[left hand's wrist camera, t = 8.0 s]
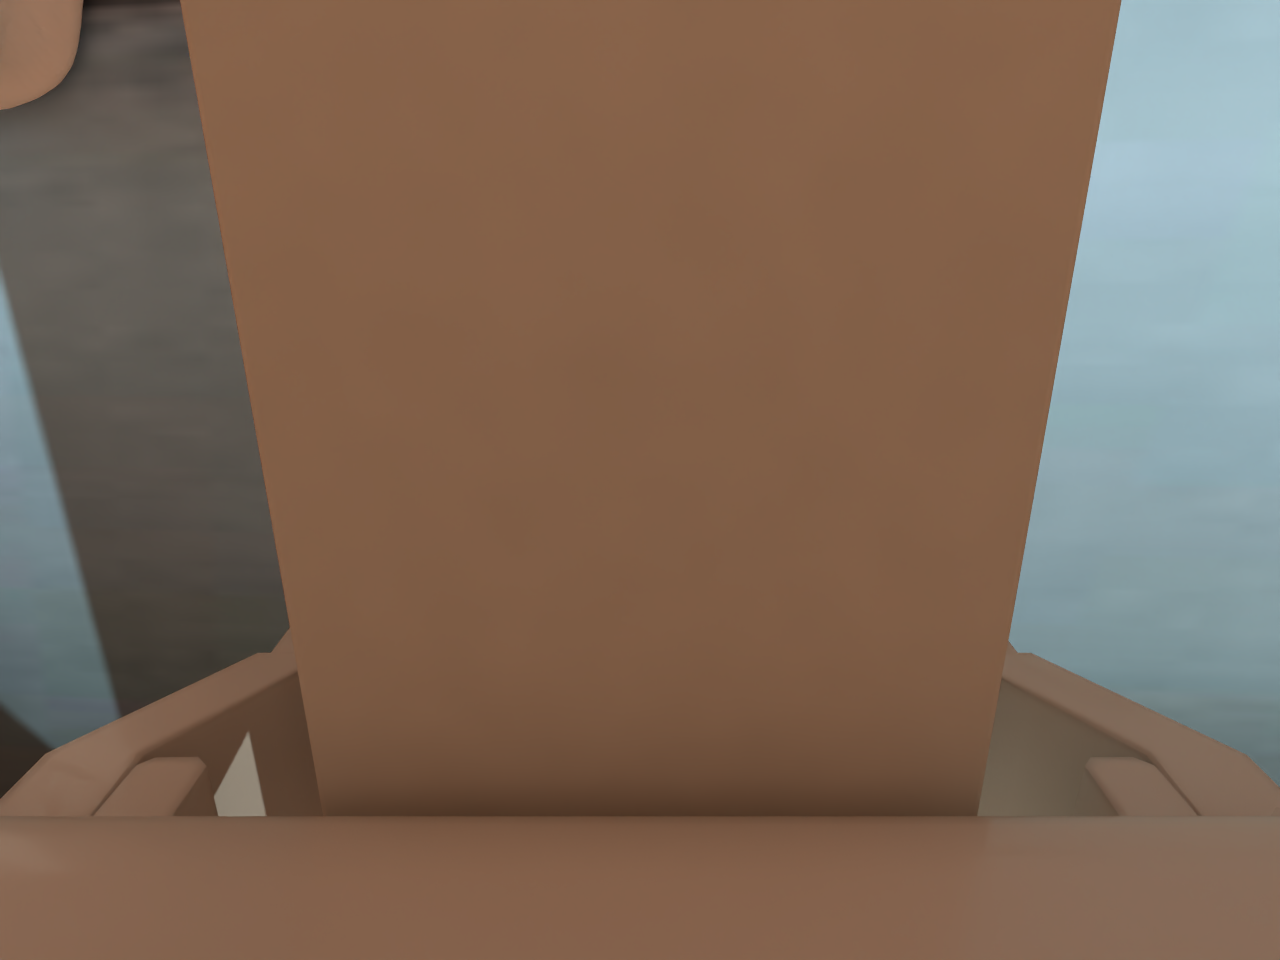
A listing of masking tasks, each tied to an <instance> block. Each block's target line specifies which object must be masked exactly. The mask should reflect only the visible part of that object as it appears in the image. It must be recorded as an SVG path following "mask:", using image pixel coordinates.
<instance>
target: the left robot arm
mask: <svg viewBox="0 0 1280 960" xmlns="http://www.w3.org/2000/svg"><path fill="white" fill-rule="evenodd" d="M0 960H1280V787H1279V786H1278V785H1277V784H1276V783H1275V782H1274V781H1273V780H1272V779H1271V778H1270V777H1269V776H1268V775H1266V774H1265V773H1264V772H1263V771H1262V770H1261V769H1260V768H1259V767H1258V766H1257V765H1256V764H1255V763H1254V762H1253V761H1252V760H1251V759H1250V758H1249V757H1248V756H1247V755H1246V754H1244V753H1242V752H1240V751H1237V750H1235V749H1233V748H1231V747H1229V746H1227V745H1225V744H1223V743H1220V742H1218V741H1216V740H1214V739H1212V738H1210V737H1208V736H1206V735H1204V734H1201V733H1199V732H1197V731H1195V730H1193V729H1191V728H1189V727H1187V726H1185V725H1182V724H1180V723H1178V722H1176V721H1174V720H1172V719H1170V718H1168V717H1165V716H1163V715H1161V714H1159V713H1157V712H1155V711H1153V710H1151V709H1149V708H1146V707H1144V706H1142V705H1140V704H1138V703H1136V702H1134V701H1132V700H1129V699H1127V698H1125V697H1123V696H1121V695H1119V694H1117V693H1115V692H1113V691H1110V690H1108V689H1106V688H1104V687H1102V686H1100V685H1098V684H1096V683H1094V682H1091V681H1089V680H1087V679H1085V678H1083V677H1081V676H1079V675H1077V674H1074V673H1072V672H1070V671H1068V670H1066V669H1064V668H1062V667H1060V666H1058V665H1055V664H1053V663H1051V662H1049V661H1047V660H1045V659H1043V658H1041V657H1038V656H1036V655H1034V654H1032V653H1017V651H1016V650H1015V649H1014V647H1013V646H1012V645H1011V644H1010V642H1009V641H1008V645H1007V650H1006V656H1005V662H1004V667H1003V673H1002V679H1001V684H1000V690H999V695H998V701H997V707H996V712H995V718H994V724H993V729H992V735H991V741H990V746H989V752H988V758H987V763H986V769H985V775H984V780H983V786H982V792H981V797H980V803H979V809H978V814H977V816H323V813H322V807H321V801H320V796H319V790H318V784H317V778H316V773H315V767H314V761H313V756H312V750H311V744H310V739H309V733H308V727H307V721H306V716H305V710H304V704H303V699H302V693H301V687H300V682H299V676H298V670H297V664H296V659H295V653H294V647H293V642H292V636H291V630H290V628H289V629H288V630H287V632H286V633H285V634H284V636H283V637H282V638H281V640H280V641H279V642H278V644H277V645H276V646H275V648H274V649H273V650H272V652H271V653H256V654H254V655H252V656H250V657H248V658H246V659H244V660H242V661H239V662H237V663H235V664H233V665H231V666H229V667H227V668H225V669H223V670H221V671H218V672H216V673H214V674H212V675H210V676H208V677H206V678H204V679H202V680H200V681H197V682H195V683H193V684H191V685H189V686H187V687H185V688H183V689H181V690H178V691H176V692H174V693H172V694H170V695H168V696H166V697H164V698H162V699H160V700H157V701H155V702H153V703H151V704H149V705H147V706H145V707H143V708H141V709H139V710H136V711H134V712H132V713H130V714H128V715H126V716H124V717H122V718H120V719H117V720H115V721H113V722H111V723H109V724H107V725H105V726H103V727H101V728H99V729H96V730H94V731H92V732H90V733H88V734H86V735H84V736H82V737H80V738H78V739H75V740H73V741H71V742H69V743H67V744H65V745H63V746H61V747H59V748H56V749H54V750H52V751H50V752H48V753H46V754H45V755H44V756H43V757H42V758H41V759H40V760H39V761H38V762H37V763H36V764H35V765H34V766H33V767H32V768H31V769H30V770H29V771H28V772H27V773H26V774H25V775H24V776H23V777H22V778H21V779H20V780H19V781H18V782H17V783H16V784H15V785H14V786H13V787H12V788H11V789H10V790H9V791H8V792H7V793H6V794H5V795H4V796H3V797H2V798H1V799H0Z"/></svg>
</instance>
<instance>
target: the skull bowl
mask: <svg viewBox="0 0 1280 960" xmlns="http://www.w3.org/2000/svg"><path fill="white" fill-rule="evenodd" d="M82 8H83V0H0V110H3V109H10V108H13V107H16V106H19V105H22V104H24V103H27V102H30V101H32V100H35V99H37V98H39V97H41V96H42V95H44V94H46V93H47V92H49V91H50V90H52V89H53V88H55V87H56V86H57V85H58V84H59V83H60V82H61V81H62V80H63V79H64V78H65V76H66V75H67V73H68V72H69V70H70V69H71V67H72V65H73V63H74V59H75V56H76V53H77V48H78V43H79V36H80V29H81V19H82Z"/></svg>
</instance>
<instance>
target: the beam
mask: <svg viewBox="0 0 1280 960" xmlns="http://www.w3.org/2000/svg"><path fill="white" fill-rule="evenodd" d="M180 3H181V8H182V14H183V20H184V25H185V31H186V37H187V43H188V48H189V54H190V60H191V65H192V71H193V77H194V83H195V88H196V94H197V100H198V105H199V111H200V117H201V122H202V128H203V134H204V140H205V145H206V151H207V157H208V162H209V168H210V174H211V179H212V185H213V191H214V197H215V202H216V208H217V214H218V219H219V225H220V231H221V237H222V242H223V248H224V254H225V259H226V265H227V271H228V276H229V282H230V288H231V294H232V299H233V305H234V311H235V316H236V322H237V328H238V334H239V339H240V345H241V351H242V356H243V362H244V368H245V373H246V379H247V385H248V391H249V396H250V402H251V408H252V413H253V419H254V425H255V430H256V436H257V442H258V448H259V453H260V459H261V465H262V470H263V476H264V482H265V488H266V493H267V499H268V505H269V510H270V516H271V522H272V527H273V533H274V539H275V545H276V550H277V556H278V562H279V567H280V573H281V579H282V585H283V590H284V596H285V602H286V607H287V613H288V619H289V624H290V630H291V636H292V642H293V647H294V653H295V659H296V664H297V670H298V676H299V682H300V687H301V693H302V699H303V704H304V710H305V716H306V721H307V727H308V733H309V739H310V744H311V750H312V756H313V761H314V767H315V773H316V778H317V784H318V790H319V796H320V801H321V807H322V813H323V816H977V814H978V809H979V803H980V797H981V792H982V786H983V780H984V775H985V769H986V763H987V758H988V752H989V746H990V741H991V735H992V729H993V724H994V718H995V712H996V707H997V701H998V695H999V690H1000V684H1001V679H1002V673H1003V667H1004V662H1005V656H1006V650H1007V645H1008V639H1009V633H1010V628H1011V622H1012V616H1013V611H1014V605H1015V599H1016V594H1017V588H1018V582H1019V577H1020V571H1021V565H1022V560H1023V554H1024V548H1025V543H1026V537H1027V531H1028V526H1029V520H1030V514H1031V509H1032V503H1033V497H1034V492H1035V486H1036V480H1037V475H1038V469H1039V463H1040V458H1041V452H1042V446H1043V441H1044V435H1045V430H1046V424H1047V418H1048V413H1049V407H1050V401H1051V396H1052V390H1053V384H1054V379H1055V373H1056V367H1057V362H1058V356H1059V350H1060V345H1061V339H1062V333H1063V328H1064V322H1065V316H1066V311H1067V305H1068V299H1069V294H1070V288H1071V282H1072V277H1073V271H1074V265H1075V260H1076V254H1077V248H1078V243H1079V237H1080V231H1081V226H1082V220H1083V214H1084V209H1085V203H1086V197H1087V192H1088V186H1089V181H1090V175H1091V169H1092V164H1093V158H1094V152H1095V147H1096V141H1097V135H1098V130H1099V124H1100V118H1101V113H1102V107H1103V101H1104V96H1105V90H1106V84H1107V79H1108V73H1109V67H1110V62H1111V56H1112V50H1113V45H1114V39H1115V33H1116V28H1117V22H1118V16H1119V11H1120V5H1121V0H180Z"/></svg>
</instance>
